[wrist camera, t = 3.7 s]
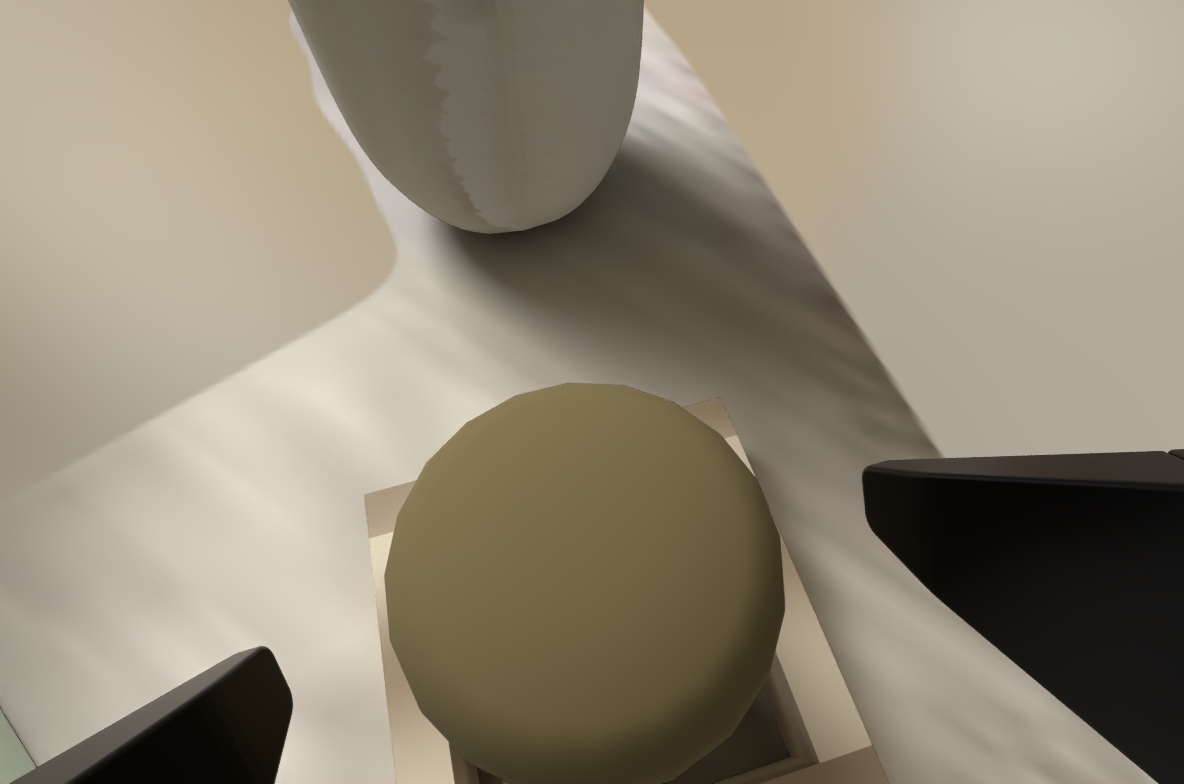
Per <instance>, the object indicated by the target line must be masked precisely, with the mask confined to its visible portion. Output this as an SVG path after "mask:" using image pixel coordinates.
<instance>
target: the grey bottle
mask: <svg viewBox="0 0 1184 784" xmlns="http://www.w3.org/2000/svg"><path fill="white" fill-rule="evenodd" d="M288 1H289V4H290V6H291V8H292V10H293V12H294V15H295V17H296V19H297V21H298V23H299V25H300V28H301V30H302V32H303V34H304V36H305V39H306V41H307V43H308V45H309V47H310V49H311V52H312V54H313V56H314V58H315V60H316V62H317V65H318V67H319V69H320V71H321V73H322V75H323V77H324V79H325V81H326V84H327V86H328V88H329V90H330V92H331V94H332V96H333V98H334V100H335V102H336V104H337V106H338V108H339V110H340V112H341V113H342V115H343V117H344V119H345V121H346V123H347V125H348V126H349V128H350V130H351V132H352V133H353V135H354V137H355V138H356V140H357V141H358V143H359V145H360V146H361V148H362V149H363V151H364V152H365V153H366V155H367V156H368V157H369V159H370V160H371V161H372V163H373V164H374V165H375V166H376V168H377V169H378V170H379V171H380V172H381V173H382V174H383V175H384V177H385V178H386V179H387V180H388V181H389V182H390V183H391V184H392V185H394V186H395V187H396V188H397V189H398V190H399V191H400V192H401V193H402V194H404V195H405V196H406V197H407V198H408V199H409V200H411V201H412V202H413V203H415V204H416V205H417V206H419V207H420V208H422V209H423V210H424V211H426V212H427V213H429V214H430V215H432V216H433V217H435V218H437V219H439V220H441V221H443V222H445V223H448V224H450V225H452V226H455V227H458V228H460V229H464V230H467V231H472V232H479V233H488V234H492V233H502V232H512V231H521V230H526V229H529V228H533V227H536V226H539V225H543V224H546V223H549V222H553V221H556V220H558V219H559V218H561V217H563V216H565V215H567V214H568V213H570V212H571V211H573V210H574V209H575V208H577V207H578V206H579V205H580V204H581V203H582V202H583V201H584V200H585V199H586V198H587V197H588V196H589V195H590V194H591V193H592V192H593V191H594V190H595V189H596V187H597V186H598V185H599V183H600V182H601V181H602V179H603V178H604V176H605V174H606V173H607V171H608V169H609V168H610V166H611V164H612V162H613V160H614V159H615V157H616V155H617V152H618V150H619V148H620V146H621V143H622V141H623V139H624V136H625V134H626V131H627V128H628V125H629V122H630V119H631V115H632V111H633V107H634V103H635V98H636V93H637V87H638V79H639V69H640V59H641V47H642V30H643V8H644V0H288Z"/></svg>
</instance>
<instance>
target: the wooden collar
mask: <svg viewBox="0 0 1184 784" xmlns="http://www.w3.org/2000/svg"><path fill="white" fill-rule="evenodd" d="M682 408H683V409H685V410H686V411H688V412H689V413H691V414H692V415H694V416H695V417H697V418H698V419H699V420H701V421H702V422H704V423H705V424H707V425H708V426H710V427H711V428H713V429H714V430H715V431H717V432H718V433H720V434H721V435H722V436H723V438H724V439H725V440H726V441H727V443H728V444H729V445H730V446H731V448H732V449H733V450H734V451H735V452H736V454H737V455H738V456H739V457H740V459H741V460H742V461H743V462H744V464H745V465H746V466H747V467H748V469H749V470H750V471H751V472H752V474H753V475H754V472H753V470H752V468H751V466H750V463H749V461H748V459H747V456H746V454H745V452H744V450H743V447H742V445H741V443H740V440H739V438H738V436H737V434H736V431H735V429H734V427H733V424H732V422H731V420H730V417H729V415H728V413H727V411H726V408H725V406H724V404H723V401H722V399H721V397H719V398H715V399H712V400H708V401H704V402H701V403H697V404H693V405H690V406H686V407H682ZM754 476H755V475H754ZM416 481H417V480H416ZM416 481H413V482H409V483H405V484H402V485H398V486H394V487H391V488H387V489H384V490H380V491H376V492H373V493H369V494H365V495H364V497H365V506H366V515H367V524H368V533H369V543H370V552H371V561H372V570H373V579H374V588H375V597H376V606H377V615H378V624H379V633H380V642H381V651H382V660H383V669H384V678H385V687H386V696H387V705H388V714H389V723H390V733H391V742H392V751H393V760H394V769H395V778H396V784H480V782H479V776H478V770H477V767H476V766H474V765H472V764H470V763H468V762H467V761H466V760H465V759H464V758H463V756H462V755H461V754H460V753H459V752H458V751H457V750H456V749H455V748H454V747H453V746H452V745H451V744H450V743H449V742H448V741H447V739H446V738H445V737H444V736H443V735H442V734H441V733H440V732H439V731H438V730H437V729H436V728H435V727H434V726H433V725H432V723H431V722H430V721H429V720H428V719H427V718H426V717H425V716H424V715H423V714H422V713H421V711H420V709H419V707H418V704H417V702H416V700H415V698H414V695H413V693H412V691H411V688H410V686H409V684H408V682H407V679H406V677H405V675H404V672H403V670H402V668H401V666H400V663H399V661H398V659H397V656H396V654H395V652H394V649H393V647H392V645H391V642H390V637H389V626H388V615H387V603H386V592H385V581H384V574H385V569H386V565H387V560H388V556H389V551H390V547H391V542H392V537H393V533H394V528H395V524H396V519H397V515H398V513H399V511H400V509H401V508H402V506H403V504H404V502H405V500H406V499H407V497H408V495H409V493H410V491H411V490H412V488H413V486H414V484H415V482H416ZM769 510H770V509H769ZM770 512H771V511H770ZM771 515H772V514H771ZM772 517H773V516H772ZM773 520H774V518H773ZM774 522H775V521H774ZM775 525H776V523H775ZM776 527H777V525H776ZM777 530H778V527H777ZM778 532H779V530H778ZM779 535H780V541H781V554H782V567H783V580H784V592H785V614H784V618H783V622H782V626H781V630H780V634H779V639H778V643H777V647H776V651H775V655H774V659H773V663H772V667H771V671H770V676H769V678H768V679H767V681H766V682H765V684H764V688H765V691H766V693H767V696H768V699H769V701H770V704H771V707H772V709H773V712H774V715H775V717H776V720H777V723H778V725H779V728H780V730H781V733H782V736H783V738H784V741H785V744H786V746H787V749H788V752H789V754H790V757H789V758H786V759H783V760H780V761H777V762H774V763H771V764H768V765H765V766H762V767H760V768H757V769H754V770H751V771H748V772H745V773H742V774H739V775H736V776H733V777H730V778H727V779H724V780H721V781H718V782H715V783H712V784H889V782H888V780H887V777H886V775H885V773H884V770H883V768H882V766H881V764H880V761H879V759H878V757H877V754H876V752H875V750H874V747H873V745H872V743H871V741H870V738H869V736H868V734H867V731H866V729H865V727H864V725H863V722H862V720H861V718H860V715H859V713H858V711H857V709H856V706H855V704H854V702H853V699H852V697H851V695H850V692H849V690H848V688H847V686H846V683H845V681H844V679H843V676H842V674H841V672H840V670H839V667H838V665H837V663H836V660H835V658H834V656H833V654H832V651H831V649H830V647H829V644H828V642H827V640H826V637H825V635H824V633H823V631H822V628H821V626H820V624H819V621H818V619H817V617H816V615H815V612H814V610H813V608H812V605H811V603H810V601H809V599H808V596H807V594H806V592H805V589H804V587H803V585H802V582H801V580H800V578H799V576H798V573H797V571H796V569H795V566H794V564H793V562H792V560H791V557H790V555H789V553H788V550H787V548H786V546H785V544H784V541H783V539H782V537H781V534H780V532H779Z"/></svg>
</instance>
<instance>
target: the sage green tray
mask: <svg viewBox="0 0 1184 784" xmlns="http://www.w3.org/2000/svg"><path fill="white" fill-rule="evenodd" d="M35 768H36V766H35V764H34V763H33V761H32V760H31V758H30V756H29V755H28V753H27V751H26V750H25V748H24V747H23V745H22V743H21V742H20V740H19V739H18V737H17V735H16V734H15V732H14V730H13V729H12V727H11V726H10V724H9V722H8V721H7V719H6V718H5V716H4V714H3V713H2V711H1V709H0V784H9V783H11V782H12V781H14V780H16V779H18V778H19V777H21V776H23V775H25V774H26V773H28V772H30V771H32V770H33V769H35Z"/></svg>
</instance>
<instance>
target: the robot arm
mask: <svg viewBox="0 0 1184 784" xmlns="http://www.w3.org/2000/svg"><path fill="white" fill-rule="evenodd" d="M862 484H863V495H864V505H865V514H866V519H867V522H868V524H869V526H870V528H871V529H872V531H873V532H874V534H875V535H876V536H877V537H878V538H879V539H880V540H881V541H882V542H883V543H884V544H885V545H886V546H887V547H888V548H889V549H890V550H891V551H892V552H893V553H894V555H895V556H896V557H897V558H898V559H899V560H900V561H901V562H902V563H903V564H904V565H905V566H906V567H907V568H908V569H909V570H910V571H911V572H912V573H913V574H914V575H915V576H916V577H917V579H918V580H919V581H920V582H921V583H922V584H923V585H924V586H925V587H926V588H927V589H928V590H930V591H931V592H932V593H933V594H934V595H935V596H936V597H937V598H938V599H939V600H940V601H942V602H943V603H944V604H945V605H946V606H947V607H949V608H950V609H951V610H952V611H953V612H954V613H956V614H957V615H958V616H959V617H960V618H962V619H963V620H964V621H965V622H966V623H968V624H969V625H970V626H971V627H972V628H974V629H975V630H976V631H977V632H978V633H980V634H981V635H982V636H983V637H984V638H985V639H987V640H988V641H989V642H990V643H991V644H993V645H994V646H995V647H996V648H997V649H999V650H1000V651H1001V652H1002V653H1003V654H1005V655H1006V656H1007V657H1008V658H1009V659H1011V660H1012V661H1013V662H1014V663H1015V664H1016V665H1018V666H1019V667H1020V668H1021V669H1022V670H1024V671H1025V672H1026V673H1027V674H1028V675H1030V676H1031V677H1032V678H1033V679H1034V680H1036V681H1037V682H1038V683H1039V684H1040V685H1042V686H1043V687H1044V688H1045V689H1046V690H1048V691H1049V692H1050V693H1051V694H1052V695H1053V696H1055V697H1056V698H1057V699H1058V700H1059V701H1061V702H1062V703H1063V704H1064V705H1065V706H1067V707H1068V708H1069V709H1070V710H1071V711H1073V712H1074V713H1075V714H1076V715H1077V716H1079V717H1080V718H1081V719H1082V720H1083V721H1084V722H1086V723H1087V724H1088V725H1089V726H1090V727H1092V728H1093V729H1094V730H1095V731H1096V732H1098V733H1099V734H1100V735H1101V736H1102V737H1104V738H1105V739H1106V740H1107V741H1108V742H1110V743H1111V744H1112V745H1113V746H1114V747H1115V748H1117V749H1118V750H1119V751H1120V752H1121V753H1123V754H1124V755H1125V756H1126V757H1127V758H1129V759H1130V760H1131V761H1132V762H1133V763H1135V764H1136V765H1137V766H1138V767H1139V768H1141V769H1142V770H1143V771H1144V772H1145V773H1146V774H1148V775H1149V776H1150V777H1151V778H1152V779H1154V780H1155V781H1156V782H1157V783H1158V784H1184V449H1178V450H1171V451H1169V452H1168V453H1166V452H1163V451H1151V452H1150V451H1148V452H1122V453H1121V452H1119V453H1090V454H1060V455H1033V456H1032V455H1030V456H1002V457H1001V456H1000V457H973V458H972V457H971V458H942V459H912V460H888V461H884V462H880V463H877V464H873V465H870V466H867V467H866V468H865V469H864V470H863V473H862ZM292 710H293V700H292V694H291V691H290V688H289V686H288V684H287V682H286V680H285V678H284V676H283V674H282V671H281V669H280V667H279V665H278V663H277V661H276V659H275V657H274V655H273V653H272V651H271V650H270V649H269V648H267V647H265V646H259V647H256V648H253V649H249V650H246V651H243V652H239V653H237V654H234V655H232V656H231V657H229V658H227V659H225V660H224V661H222V662H220V663H218V664H217V665H215V666H213V667H211V668H210V669H208V670H206V671H204V672H203V673H201V674H199V675H197V676H196V677H194V678H192V679H190V680H189V681H187V682H185V683H183V684H182V685H180V686H178V687H176V688H175V689H173V690H171V691H170V692H168V693H166V694H164V695H163V696H161V697H159V698H157V699H156V700H154V701H152V702H150V703H149V704H147V705H145V706H143V707H142V708H140V709H138V710H136V711H135V712H133V713H131V714H129V715H128V716H126V717H124V718H122V719H121V720H119V721H117V722H115V723H114V724H112V725H110V726H108V727H107V728H105V729H103V730H101V731H100V732H98V733H96V734H94V735H93V736H91V737H89V738H87V739H86V740H84V741H82V742H81V743H79V744H77V745H75V746H74V747H72V748H70V749H68V750H67V751H65V752H63V753H61V754H60V755H58V756H56V757H54V758H53V759H51V760H49V761H47V762H46V763H44V764H42V765H40V766H39V767H37V768H35V769H33V770H32V771H30V772H28V773H26V774H25V775H23V776H21V777H19V778H18V779H16V780H14V781H12V782H11V783H9V784H275V780H276V776H277V772H278V768H279V764H280V760H281V756H282V752H283V748H284V744H285V740H286V736H287V732H288V728H289V723H290V719H291V715H292Z"/></svg>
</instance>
